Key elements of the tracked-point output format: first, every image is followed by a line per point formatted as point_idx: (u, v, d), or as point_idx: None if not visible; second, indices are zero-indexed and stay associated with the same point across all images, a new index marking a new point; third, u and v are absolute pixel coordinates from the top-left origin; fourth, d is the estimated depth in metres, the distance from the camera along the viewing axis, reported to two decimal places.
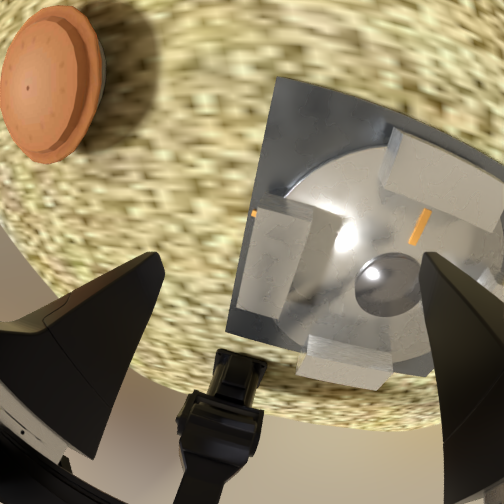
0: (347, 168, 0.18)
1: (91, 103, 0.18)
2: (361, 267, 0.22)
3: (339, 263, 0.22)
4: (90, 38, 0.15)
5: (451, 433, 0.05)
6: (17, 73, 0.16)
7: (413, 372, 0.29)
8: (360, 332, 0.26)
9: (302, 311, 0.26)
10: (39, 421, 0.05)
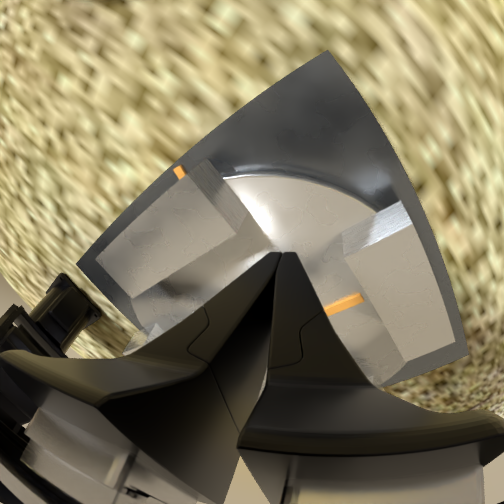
0: (317, 201, 0.14)
1: None
2: None
3: None
4: None
5: None
6: None
7: None
8: None
9: (162, 299, 0.21)
10: (177, 486, 0.04)
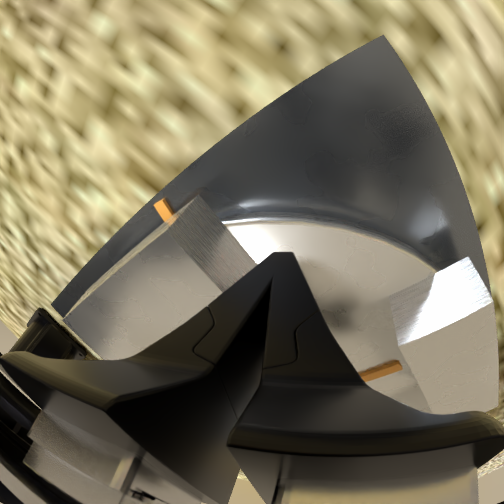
0: (361, 259, 0.10)
1: None
2: None
3: None
4: None
5: None
6: None
7: None
8: None
9: None
10: (182, 487, 0.04)
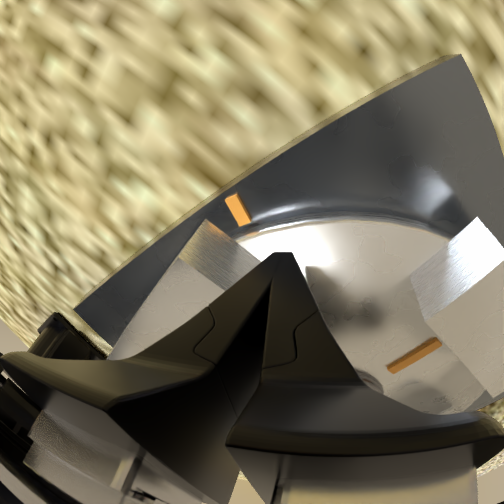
0: (372, 244, 0.10)
1: None
2: None
3: None
4: None
5: None
6: None
7: None
8: None
9: None
10: (183, 487, 0.04)
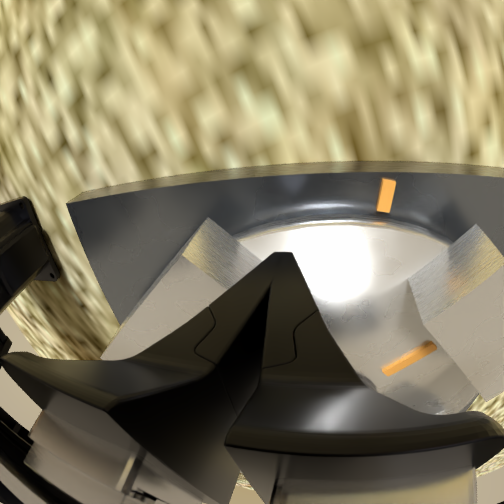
0: (373, 248, 0.10)
1: None
2: None
3: None
4: None
5: None
6: None
7: None
8: None
9: None
10: (183, 488, 0.04)
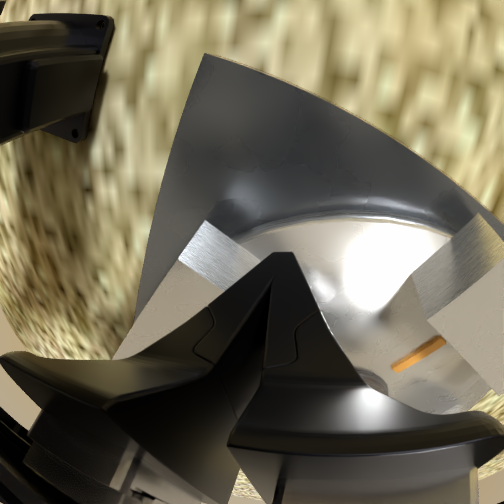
0: (372, 243, 0.10)
1: None
2: None
3: None
4: None
5: None
6: None
7: None
8: None
9: None
10: (182, 487, 0.04)
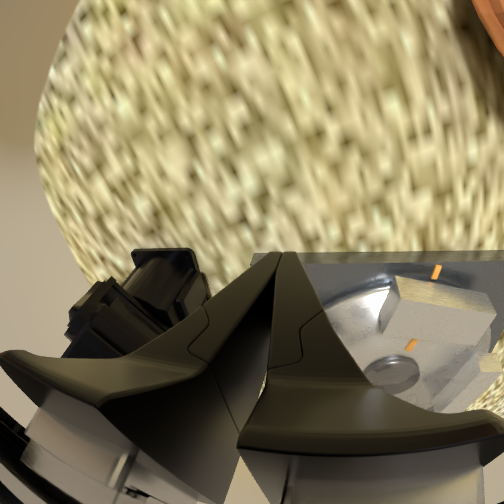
0: (353, 308, 0.22)
1: None
2: (366, 367, 0.25)
3: None
4: None
5: None
6: None
7: None
8: None
9: None
10: (177, 486, 0.04)
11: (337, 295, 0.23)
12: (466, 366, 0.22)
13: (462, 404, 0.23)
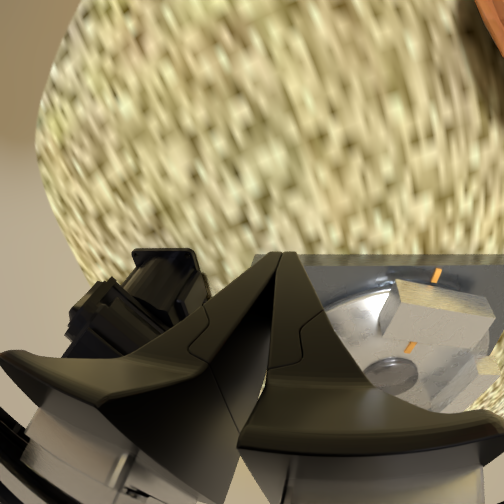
0: (353, 311, 0.22)
1: None
2: (364, 369, 0.25)
3: None
4: None
5: None
6: None
7: None
8: None
9: None
10: (177, 486, 0.04)
11: (337, 297, 0.23)
12: (464, 369, 0.23)
13: (459, 406, 0.23)
